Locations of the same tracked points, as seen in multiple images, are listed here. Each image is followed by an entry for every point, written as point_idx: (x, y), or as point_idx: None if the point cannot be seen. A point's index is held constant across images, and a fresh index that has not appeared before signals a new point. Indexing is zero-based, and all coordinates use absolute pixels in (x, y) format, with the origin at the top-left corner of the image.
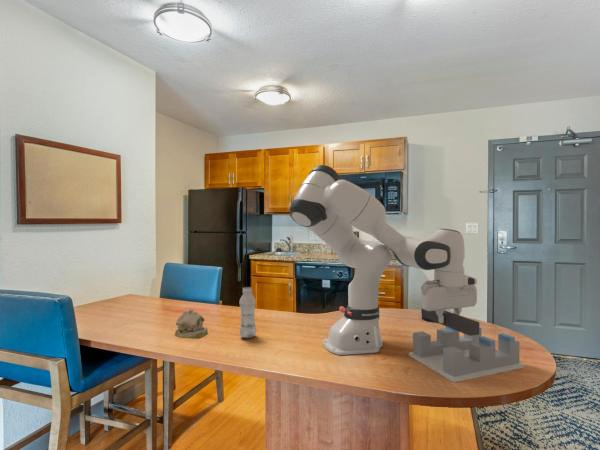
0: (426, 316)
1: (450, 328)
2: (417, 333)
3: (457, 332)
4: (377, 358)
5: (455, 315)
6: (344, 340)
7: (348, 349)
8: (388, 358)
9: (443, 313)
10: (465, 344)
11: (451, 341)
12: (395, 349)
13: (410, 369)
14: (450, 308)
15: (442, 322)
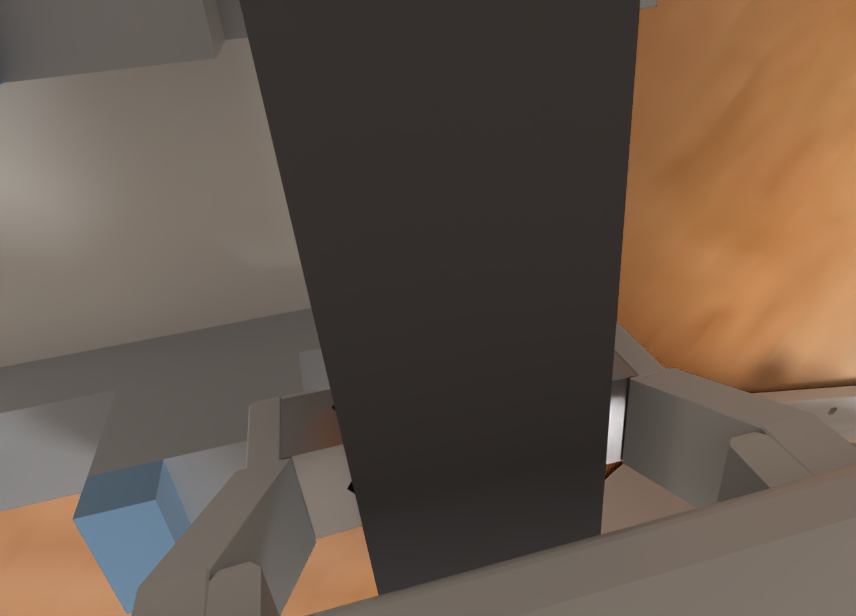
0: None
1: (181, 517)
2: None
3: (119, 458)
4: (742, 328)
5: (430, 389)
6: None
7: (834, 422)
8: (687, 320)
9: (571, 517)
10: (37, 388)
11: (219, 381)
12: None
13: (682, 142)
14: (642, 528)
15: (622, 326)
